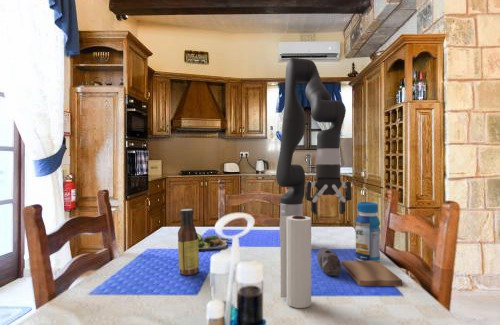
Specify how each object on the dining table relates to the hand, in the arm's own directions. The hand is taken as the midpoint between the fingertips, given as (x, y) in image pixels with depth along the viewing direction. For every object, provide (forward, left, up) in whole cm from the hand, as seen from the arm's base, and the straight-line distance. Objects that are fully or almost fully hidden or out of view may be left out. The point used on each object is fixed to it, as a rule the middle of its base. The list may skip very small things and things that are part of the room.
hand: (328, 213), depth 100 cm
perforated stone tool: (0, 0, -18) cm, 18 cm away
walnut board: (+12, -4, -18) cm, 22 cm away
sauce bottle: (-44, -1, -18) cm, 48 cm away
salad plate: (-43, +30, -19) cm, 56 cm away
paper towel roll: (-13, -22, -18) cm, 32 cm away
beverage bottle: (+17, +10, -18) cm, 27 cm away
